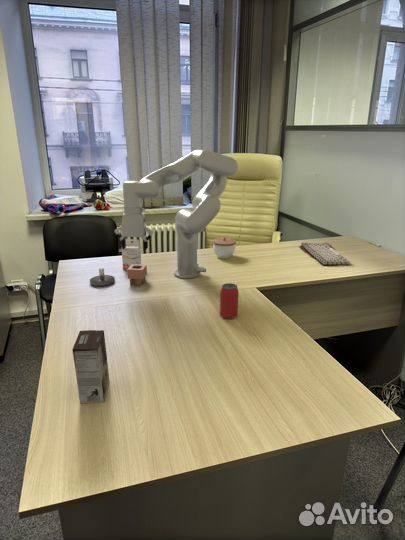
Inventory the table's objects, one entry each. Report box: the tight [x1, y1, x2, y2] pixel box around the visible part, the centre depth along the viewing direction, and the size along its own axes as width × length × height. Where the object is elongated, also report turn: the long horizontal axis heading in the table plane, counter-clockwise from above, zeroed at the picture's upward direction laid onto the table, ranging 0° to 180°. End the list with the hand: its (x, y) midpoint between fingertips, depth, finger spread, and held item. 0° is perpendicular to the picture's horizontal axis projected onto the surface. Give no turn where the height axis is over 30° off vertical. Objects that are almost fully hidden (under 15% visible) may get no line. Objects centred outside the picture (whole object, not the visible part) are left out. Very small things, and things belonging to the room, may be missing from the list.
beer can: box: [219, 282, 239, 320], centre depth 137 cm, size 7×7×12 cm
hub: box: [89, 267, 116, 288], centre depth 169 cm, size 11×11×7 cm
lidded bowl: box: [212, 236, 237, 259], centre depth 204 cm, size 13×13×11 cm
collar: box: [126, 264, 148, 280], centre depth 168 cm, size 7×7×4 cm
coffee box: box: [72, 329, 110, 404], centre depth 95 cm, size 9×6×16 cm
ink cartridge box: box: [121, 238, 142, 271], centre depth 185 cm, size 9×5×15 cm, turn 84°
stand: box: [129, 265, 146, 287], centre depth 168 cm, size 5×9×8 cm, turn 173°
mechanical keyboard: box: [298, 241, 351, 267], centre depth 209 cm, size 38×19×3 cm, turn 5°
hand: (134, 249), depth 164 cm, fingers open, 9 cm apart
